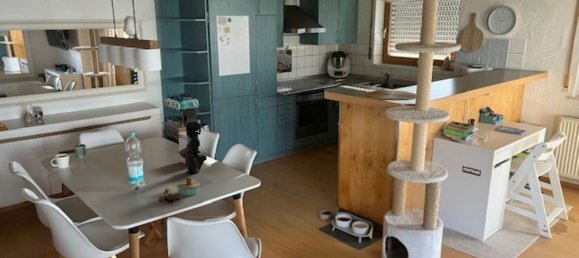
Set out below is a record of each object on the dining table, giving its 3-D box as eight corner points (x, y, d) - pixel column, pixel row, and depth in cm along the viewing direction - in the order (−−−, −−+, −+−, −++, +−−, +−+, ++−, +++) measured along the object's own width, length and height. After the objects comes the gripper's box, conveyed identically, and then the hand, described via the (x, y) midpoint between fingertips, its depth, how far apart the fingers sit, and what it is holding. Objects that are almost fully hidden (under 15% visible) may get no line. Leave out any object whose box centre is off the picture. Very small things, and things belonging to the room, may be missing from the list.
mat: (186, 182, 260) (186, 181, 260) (203, 177, 268) (203, 176, 268) (196, 188, 252) (196, 187, 252) (214, 183, 260) (214, 182, 260)
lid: (174, 185, 246) (173, 177, 245) (193, 179, 254) (192, 172, 253) (184, 191, 237) (184, 183, 236) (203, 185, 245) (203, 177, 244)
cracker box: (198, 165, 290) (196, 135, 284) (190, 167, 286) (188, 136, 281) (187, 160, 300) (186, 130, 295) (179, 161, 296) (177, 132, 291)
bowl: (175, 191, 247) (175, 185, 246) (192, 186, 254) (192, 180, 253) (185, 197, 239) (185, 190, 238) (202, 192, 246) (202, 185, 245)
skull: (153, 198, 236) (162, 181, 239) (166, 205, 243) (175, 189, 246) (165, 203, 228) (175, 186, 231) (178, 211, 235) (188, 194, 238)
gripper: (172, 141, 248) (174, 167, 253) (188, 149, 235) (190, 176, 239) (190, 137, 255) (191, 162, 260) (206, 145, 242) (207, 171, 246)
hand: (194, 168), depth 251 cm, fingers open, 9 cm apart
